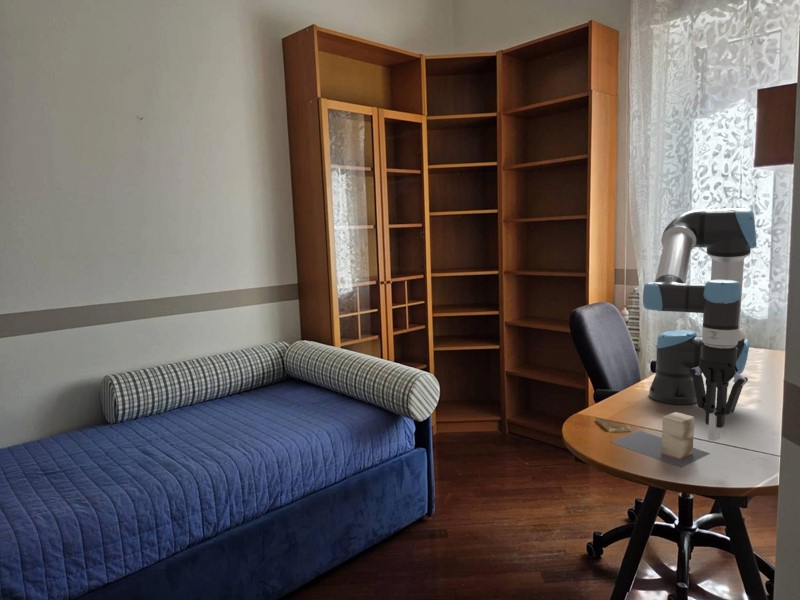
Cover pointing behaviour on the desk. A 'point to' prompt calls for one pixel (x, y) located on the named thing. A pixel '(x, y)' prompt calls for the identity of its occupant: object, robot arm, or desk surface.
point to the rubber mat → (655, 448)
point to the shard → (613, 425)
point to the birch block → (677, 435)
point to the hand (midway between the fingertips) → (713, 438)
